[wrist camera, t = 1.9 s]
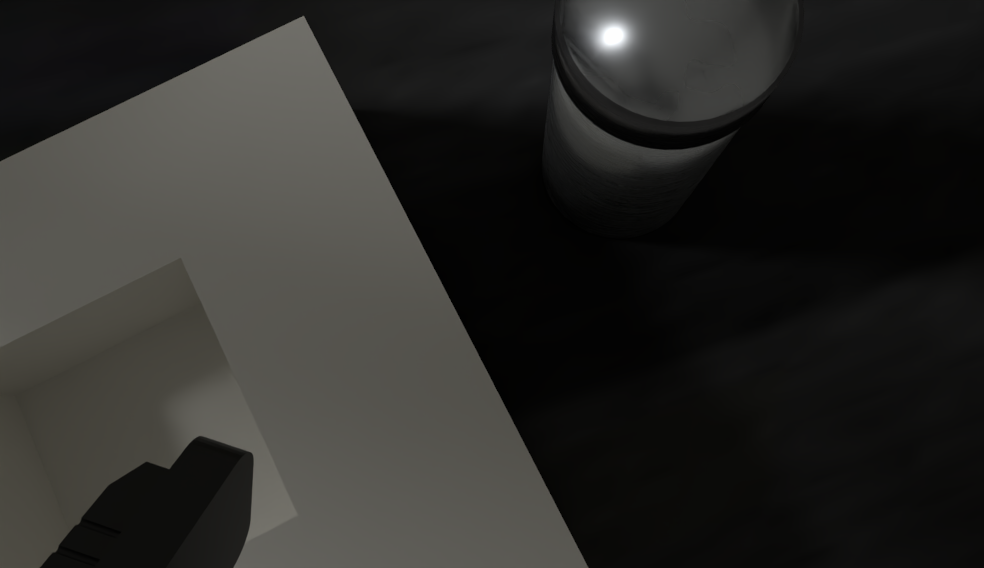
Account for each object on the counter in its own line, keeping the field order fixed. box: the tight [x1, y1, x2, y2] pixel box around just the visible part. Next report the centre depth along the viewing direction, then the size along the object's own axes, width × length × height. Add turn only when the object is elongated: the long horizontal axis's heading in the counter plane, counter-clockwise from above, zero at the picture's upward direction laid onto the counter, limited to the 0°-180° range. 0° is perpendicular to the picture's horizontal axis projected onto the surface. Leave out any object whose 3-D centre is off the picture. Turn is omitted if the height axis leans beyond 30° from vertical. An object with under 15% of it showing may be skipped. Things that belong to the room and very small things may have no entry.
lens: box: [541, 0, 804, 238], centre depth 22 cm, size 5×5×10 cm
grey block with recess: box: [0, 16, 588, 568], centre depth 23 cm, size 16×18×6 cm
